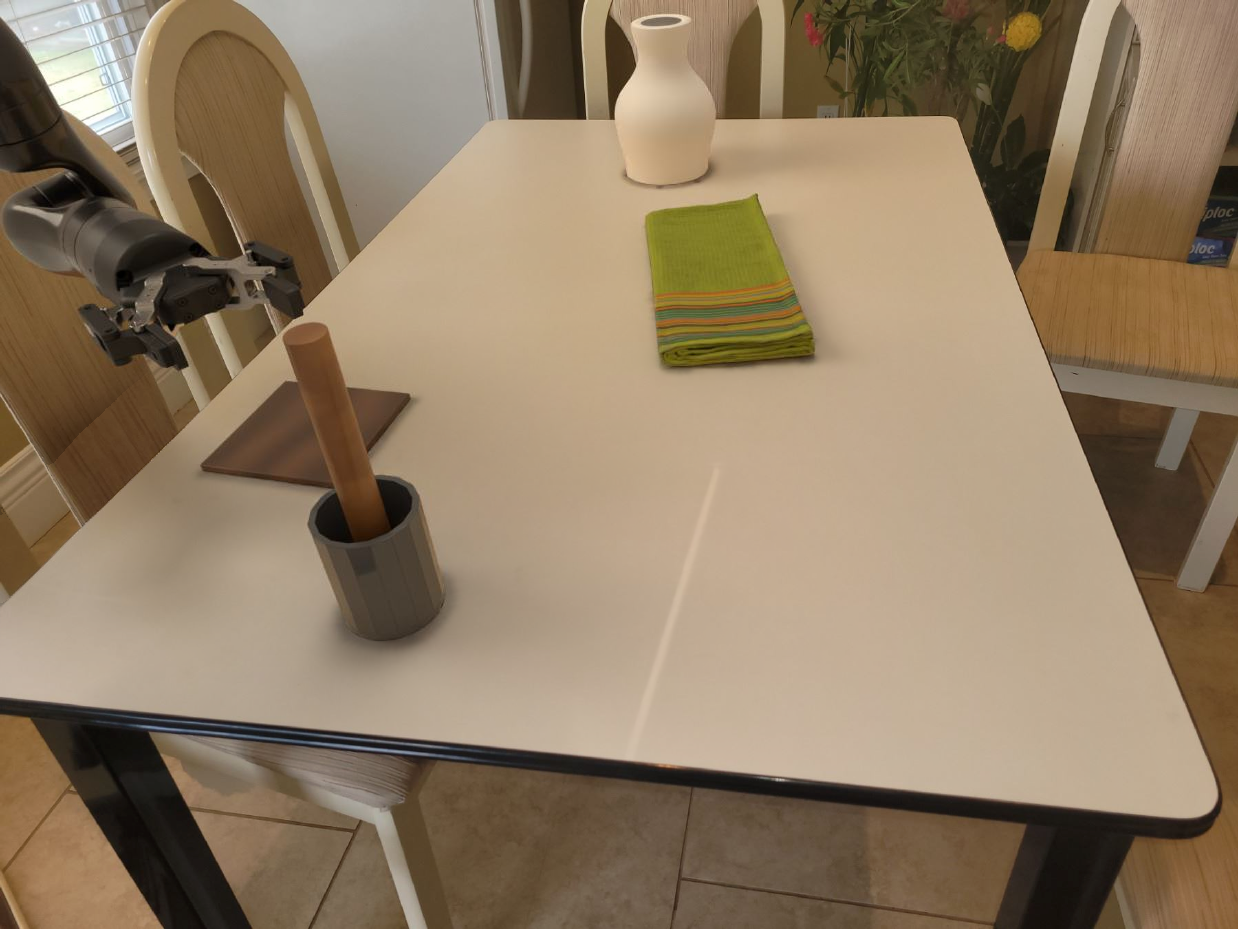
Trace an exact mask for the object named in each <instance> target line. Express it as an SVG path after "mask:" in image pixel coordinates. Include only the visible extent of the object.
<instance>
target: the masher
mask: <svg viewBox="0 0 1238 929" xmlns="http://www.w3.org/2000/svg"><path fill="white" fill-rule="evenodd" d="M282 342H283V345H284V347H285V351H286V354H287V356H288V359H289V362H290V365H291V368H292V370H293V373H294V376H295V379H296V382H298V385H299V388H300V390H301V393H302V396H303V399H304V402H305V405H306V407H307V410H308V413H309V416H310V419H311V422H312V424H313V427H314V430H315V433H316V436H317V439H318V441H319V444H320V447H321V450H322V453H323V456H324V458H325V461H326V464H327V467H328V470H329V473H330V475H331V478H332V481H333V484H334V487H335V490H336V492H337V495H338V498H339V501H340V504H341V507H342V509H343V512H344V515H345V518H346V521H347V524H348V526H349V529H350V532H351V535H352V538H353V541H354V543H356V542H363V541H369V540H372V539H374V538H377V537H380V536H382V535H385V534H387V533H389V532H390V531H391V527H390V524H389V521H388V518H387V515H386V512H385V508H384V505H383V502H382V499H381V496H380V492H379V489H378V486H377V483H376V480H375V476H374V475H375V473H374V471H373V470H374V469H373V468H372V464H371V460H370V458H369V454H368V452H367V451H366V448H365V445H364V441H363V438H362V435H361V432H360V429H359V425H358V422H357V419H356V416H355V413H354V409H353V406H352V403H351V400H350V397H349V394H348V390H347V387H348V386H347V385H346V380H345V378H344V375H343V371H342V368H341V365H340V361H339V359H338V355H337V352H336V349H335V346H334V343H333V340H332V337H331V333H330V330H329V327H328V326H327V325H326V323H325V324H324V323H322V322H318V321H317V322H315V321H314V322H313V321H312V322H310V321H309V322H304V323H300V324H297V325H294V326H293V327H291V328H288V329H287V330H286V331H285V332H284V333H283V335H282Z"/></svg>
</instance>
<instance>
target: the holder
mask: <svg viewBox="0 0 1238 929" xmlns="http://www.w3.org/2000/svg"><path fill="white" fill-rule="evenodd" d="M374 476H375V480H376V483H377V486H378V489H379V492H380V496H381V499H382V502H383V505H384V508H385V512H386V515H387V518H388V521H389V524H390V527H391V531H390V532H389V533H387V534H385V535H382V536H380V537H377V538H374V539H372V540H369V541H363V542H356V543H354V541H353V538H352V535H351V532H350V529H349V526H348V524H347V521H346V518H345V515H344V512H343V509H342V507H341V504H340V501H339V498H338V495H337V492H336V490H335V488H331V489H330V490H329V491H327V492H325V493H324V494H323V495H322V496H321V497H319V499H318V500H317V501H316V503H315V504H314V505H313V506H312V508H310V511H309V516H308V520H307V523H306V524H307V528H308V531H309V534H310V536H311V538H312V541H313V544H314V546H315V549H316V551H317V554H318V556H319V559H320V561H321V564H322V566H323V569H324V572H325V575H326V576H327V579H328V582H329V584H330V587H331V590H332V592H333V594H334V597H335V599H336V603H337V605H338V607H339V610H340V613H341V615H342V617H343V620H344V622H345V625H346V626H347V627H348V628H349V630H350V631H352V632H353V633H354V634H356V635H357V636H359V637H362V638H364V639H368V640H374V641H387V640H388V641H389V640H396V639H399V638H402V637H406V636H407V635H411V634H413V633H415V632H417V631H419V630H421V629H422V628H423V627H425V626H426V625H427V624H428V623H430V622H431V620H433V619H434V618H435V617H436V615H437V614H438V613H439V611H440V610H441V608H442V606H443V603H444V600H445V595H446V592H445V591H446V590H445V586H444V578H443V574H442V571H441V568H440V565H439V561H438V556H437V553H436V550H435V546H434V542H433V538H432V535H431V531H430V528H429V524H428V521H427V517H426V514H425V510H424V506H423V503H422V500H421V495H420V494H419V493H418V491H417V489H416V488H415V486H414V484H413V483H411V482H409V481H407V480H405V479H403V478H401V477H400V476H393V475H387V474H374Z"/></svg>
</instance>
